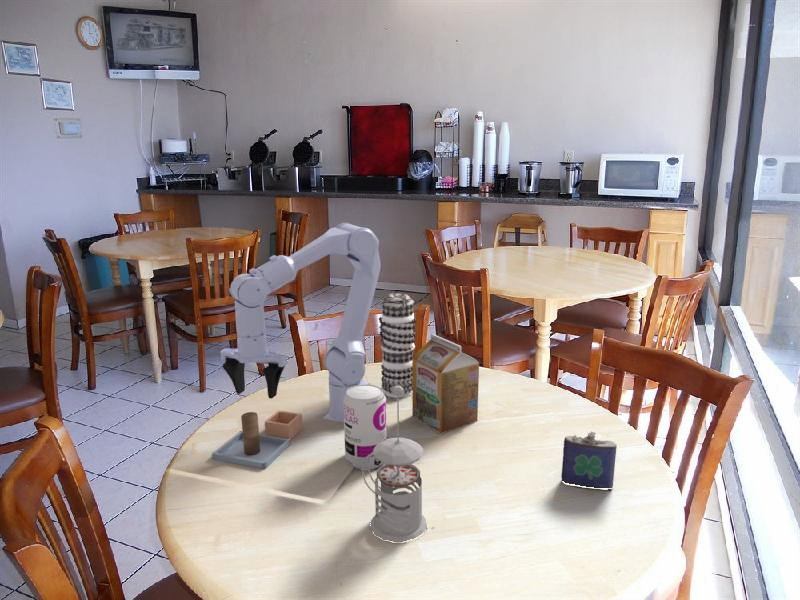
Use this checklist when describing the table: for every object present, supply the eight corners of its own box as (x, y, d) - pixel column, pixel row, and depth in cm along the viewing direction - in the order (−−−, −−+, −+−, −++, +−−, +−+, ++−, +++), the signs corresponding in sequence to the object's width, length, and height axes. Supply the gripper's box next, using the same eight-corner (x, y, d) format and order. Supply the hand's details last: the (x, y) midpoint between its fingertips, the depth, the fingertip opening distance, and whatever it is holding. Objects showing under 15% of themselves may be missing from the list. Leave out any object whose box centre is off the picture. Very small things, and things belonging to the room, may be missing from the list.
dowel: (263, 449, 125) (260, 413, 123) (254, 456, 122) (251, 420, 120) (249, 446, 126) (247, 411, 124) (241, 453, 123) (238, 417, 121)
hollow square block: (302, 430, 134) (301, 413, 133) (289, 442, 129) (288, 425, 128) (279, 426, 136) (278, 410, 135) (265, 438, 131) (264, 421, 129)
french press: (408, 551, 95) (408, 404, 89) (349, 527, 101) (344, 388, 95) (438, 518, 103) (440, 381, 97) (381, 497, 109) (379, 367, 103)
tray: (290, 447, 127) (290, 439, 126) (265, 471, 118) (264, 463, 117) (240, 438, 131) (240, 430, 130) (212, 461, 122) (211, 453, 121)
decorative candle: (409, 400, 148) (409, 302, 142) (374, 395, 152) (372, 298, 145) (421, 386, 157) (421, 292, 150) (388, 381, 160) (387, 289, 153)
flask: (612, 484, 113) (617, 432, 110) (613, 493, 110) (618, 439, 107) (561, 477, 115) (564, 426, 112) (560, 485, 113) (564, 433, 110)
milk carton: (477, 420, 138) (479, 341, 133) (440, 433, 132) (441, 351, 127) (448, 404, 146) (449, 329, 141) (412, 415, 141) (412, 338, 136)
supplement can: (393, 455, 123) (392, 387, 119) (374, 475, 116) (373, 403, 112) (358, 447, 127) (356, 380, 123) (338, 466, 120) (335, 396, 116)
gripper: (209, 335, 123) (215, 397, 126) (273, 342, 118) (277, 406, 122) (229, 325, 129) (234, 384, 133) (290, 331, 125) (294, 392, 128)
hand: (256, 394), depth 128 cm, fingers open, 7 cm apart
